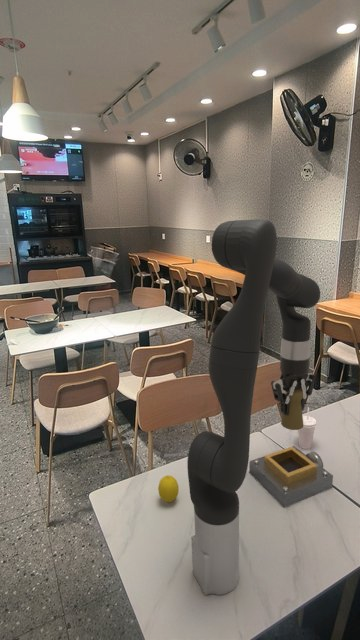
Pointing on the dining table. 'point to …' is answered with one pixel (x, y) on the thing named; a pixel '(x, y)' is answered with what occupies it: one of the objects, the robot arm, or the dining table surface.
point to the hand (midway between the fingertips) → (292, 411)
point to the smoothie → (306, 431)
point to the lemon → (168, 488)
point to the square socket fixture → (291, 475)
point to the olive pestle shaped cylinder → (294, 412)
